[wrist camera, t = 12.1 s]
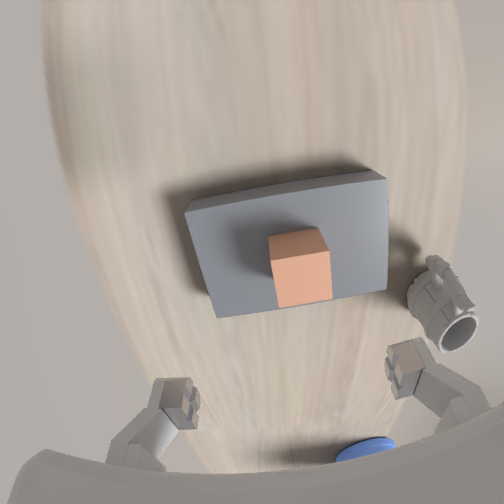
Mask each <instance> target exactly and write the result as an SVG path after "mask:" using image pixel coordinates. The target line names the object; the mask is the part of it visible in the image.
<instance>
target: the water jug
mask: <svg viewBox="0 0 504 504" xmlns="http://www.w3.org/2000/svg"><path fill="white" fill-rule="evenodd" d="M392 448H396V446H395V443H394V441H393V440H391V439H389V438H374V439H369V440H365V441H362V442H359V443H356V444H354V445H352V446H350V447H348V448H346V449H344V450H343V451H341V452H340V453H339V454H338V456H337V457H336V462H340V461H345V460H350V459H354V458H359V457H363V456H367V455H371V454H375V453H378V452H382V451H385V450H389V449H392Z"/></svg>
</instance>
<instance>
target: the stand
mask: <svg viewBox="0 0 504 504" xmlns="http://www.w3.org/2000/svg"><path fill="white" fill-rule="evenodd" d="M184 214H185V218H186V221H187V225H188V228H189V232H190V235H191V238H192V242H193V245H194V248H195V252H196V255H197V258H198V261H199V265H200V268H201V271H202V274H203V277H204V280H205V284H206V287H207V290H208V293H209V296H210V299H211V302H212V305H213V308H214V311H215V314H216V317H217V318H223V317H230V316H238V315H245V314H252V313H258V312H265V311H272V310H278V309H284V308H290V307H296V306H302V305H308V304H314V303H319V302H325V301H330V300H336V299H341V298H346V297H351V296H356V295H361V294H366V293H371V292H376V291H380V290H385V289H387V276H388V190H387V178H385V177H383V176H382V175H380V174H378V173H377V172H375V171H373V170H369V171H361V172H353V173H346V174H339V175H331V176H325V177H318V178H311V179H305V180H298V181H292V182H286V183H280V184H274V185H269V186H263V187H257V188H252V189H247V190H241V191H236V192H231V193H226V194H221V195H216V196H211V197H206V198H201V199H197V200H192V201H191V203H190V204H189V206H188V207H187V209H186V211H185V212H184ZM315 228H319V230H320V232H321V234H322V236H323V239H324V241H325V243H326V245H327V247H328V249H329V252H330V265H331V279H332V295H333V299H329V300H323V301H318V302H312V303H307V304H301V305H295V306H289V307H283V308H279V304H278V299H277V294H276V288H275V283H274V277H273V272H272V267H271V261H270V251H269V240H268V236H273V235H279V234H285V233H291V232H297V231H303V230H309V229H315Z"/></svg>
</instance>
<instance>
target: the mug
mask: <svg viewBox="0 0 504 504" xmlns="http://www.w3.org/2000/svg"><path fill="white" fill-rule="evenodd" d="M426 264H427V266H428V269H429V270H428V271H425V272H423V273H422V274H420V275H419V276H418V277H417V278H418V279H417V278H416V279H415V280H414V283H413V284H411V285H410V287H409V289H408V292H407V299H408V301H407V304H408V308H409V311H410V313H411V315H412V316H413V317H414V318H416V319H418V320H419V322H420V323H421V324H422V326H423V327H424V331H425V334H426V337H427V338H429V339H430V340H432V341H433V342H434V343H435V345H436V347H437V348H438V349H439V351H440V352H442V353H445V354H446V353H447V354H448V353H452V352H453V351H455V350H458V349H461V348H462V347H464V346H465V344H467V343H468V342H469V341H470V340H471V339H472V337H473V336H474V335H475V333H476V331H477V328H478V326H477V325H478V324H479V320H478V317H477V315H476V314H475V313H474V311H473V310H474V309H475V307H476V306H475V305H474V304H473V303H472V302H471V301H470V300H469V298H468V297H467V295H466V293H465V290H464V288H463V286H462V284H461V283H460V281H459V279H458V277H457V276H455V274H454V272H453V271H452V267H451V266H450V264H449V263H447V262H446V261H444V260H443V259H442V258H440V257H439V256H437V255H435V256H431V255H430V256H428V257H426Z"/></svg>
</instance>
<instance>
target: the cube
mask: <svg viewBox="0 0 504 504" xmlns="http://www.w3.org/2000/svg"><path fill="white" fill-rule="evenodd" d="M268 240H269V251H270V261H271V267H272V272H273V277H274V283H275V288H276V294H277V299H278V304H279V308H283V307H289V306H295V305H301V304H307V303H312V302H318V301H323V300H329V299H333V295H332V279H331V265H330V252H329V249H328V247H327V245H326V243H325V241H324V239H323V236H322V234H321V232H320V230H319V228H315V229H309V230H303V231H297V232H291V233H285V234H279V235H273V236H268Z"/></svg>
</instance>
